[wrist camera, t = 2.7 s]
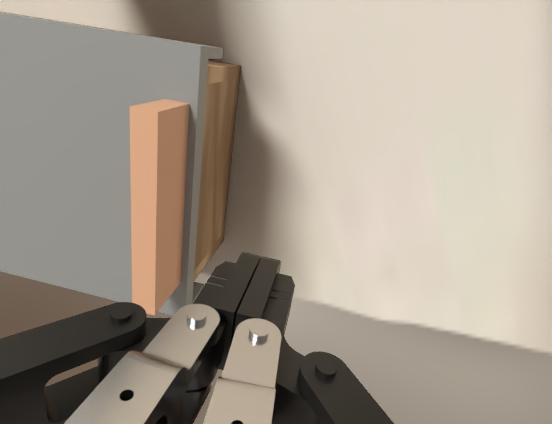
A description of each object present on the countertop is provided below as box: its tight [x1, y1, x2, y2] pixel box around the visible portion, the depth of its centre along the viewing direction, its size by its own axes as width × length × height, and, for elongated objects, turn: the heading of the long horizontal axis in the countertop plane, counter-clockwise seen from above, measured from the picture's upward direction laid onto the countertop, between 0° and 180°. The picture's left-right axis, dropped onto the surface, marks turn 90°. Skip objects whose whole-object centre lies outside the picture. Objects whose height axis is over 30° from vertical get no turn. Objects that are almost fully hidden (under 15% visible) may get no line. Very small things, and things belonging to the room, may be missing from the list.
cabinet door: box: [0, 12, 223, 316], centre depth 20 cm, size 19×15×6 cm
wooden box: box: [194, 60, 241, 280], centre depth 25 cm, size 18×13×7 cm
